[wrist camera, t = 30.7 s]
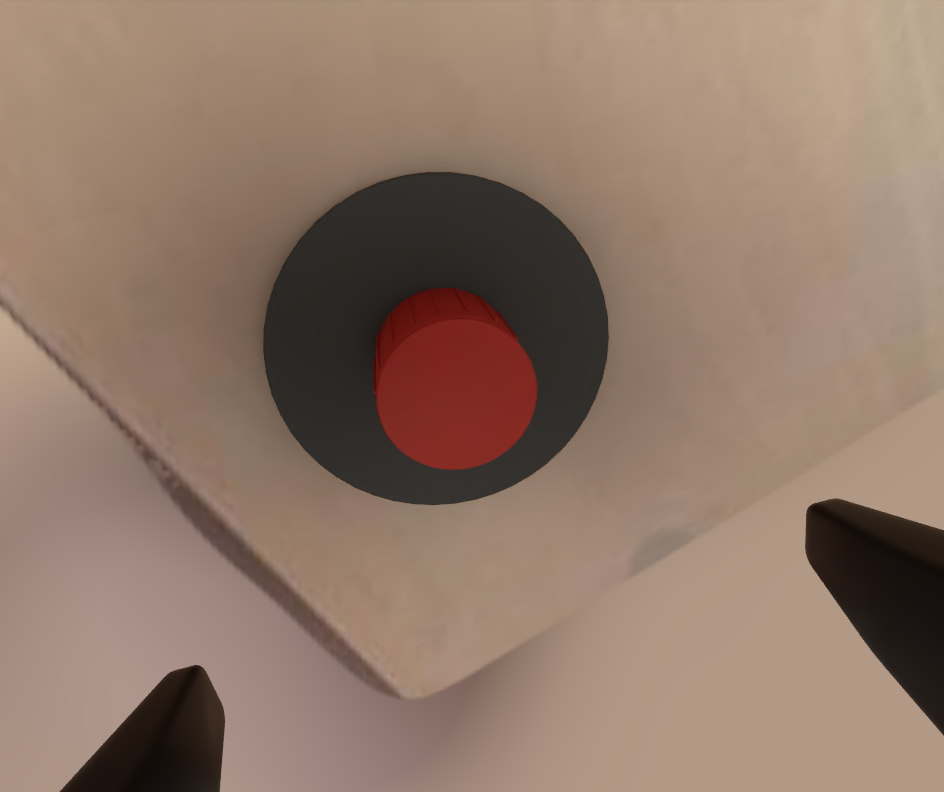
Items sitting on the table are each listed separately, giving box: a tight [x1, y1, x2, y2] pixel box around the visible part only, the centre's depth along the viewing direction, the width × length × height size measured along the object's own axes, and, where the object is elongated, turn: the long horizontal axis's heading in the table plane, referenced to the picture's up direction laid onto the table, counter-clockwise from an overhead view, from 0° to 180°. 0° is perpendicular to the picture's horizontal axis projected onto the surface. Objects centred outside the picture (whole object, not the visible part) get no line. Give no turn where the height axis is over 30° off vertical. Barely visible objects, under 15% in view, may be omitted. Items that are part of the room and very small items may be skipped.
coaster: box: [263, 172, 609, 505], centre depth 20 cm, size 11×11×1 cm
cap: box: [374, 288, 537, 470], centre depth 18 cm, size 4×4×4 cm
